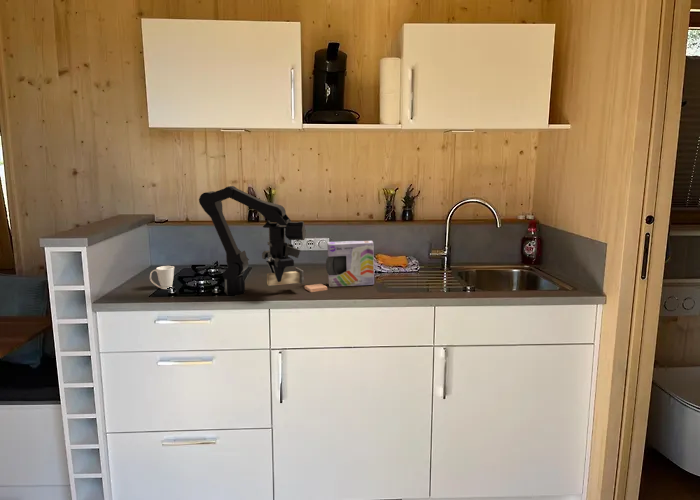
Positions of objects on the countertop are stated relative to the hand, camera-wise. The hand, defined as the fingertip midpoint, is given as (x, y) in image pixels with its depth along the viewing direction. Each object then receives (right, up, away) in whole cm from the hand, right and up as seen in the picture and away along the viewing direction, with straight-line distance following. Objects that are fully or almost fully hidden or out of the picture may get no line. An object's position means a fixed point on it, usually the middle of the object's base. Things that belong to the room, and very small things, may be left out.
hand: (278, 280), depth 187 cm
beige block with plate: (+2, -1, +1) cm, 3 cm away
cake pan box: (+27, -3, +14) cm, 30 cm away
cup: (-46, -3, +10) cm, 48 cm away
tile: (+11, -4, +6) cm, 13 cm away
